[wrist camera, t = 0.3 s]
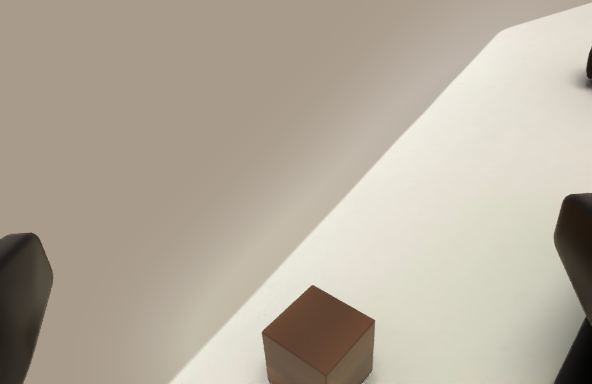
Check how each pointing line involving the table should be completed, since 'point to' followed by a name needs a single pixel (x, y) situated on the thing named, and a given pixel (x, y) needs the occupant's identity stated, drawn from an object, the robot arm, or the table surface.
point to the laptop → (578, 359)
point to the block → (319, 342)
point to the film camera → (589, 65)
